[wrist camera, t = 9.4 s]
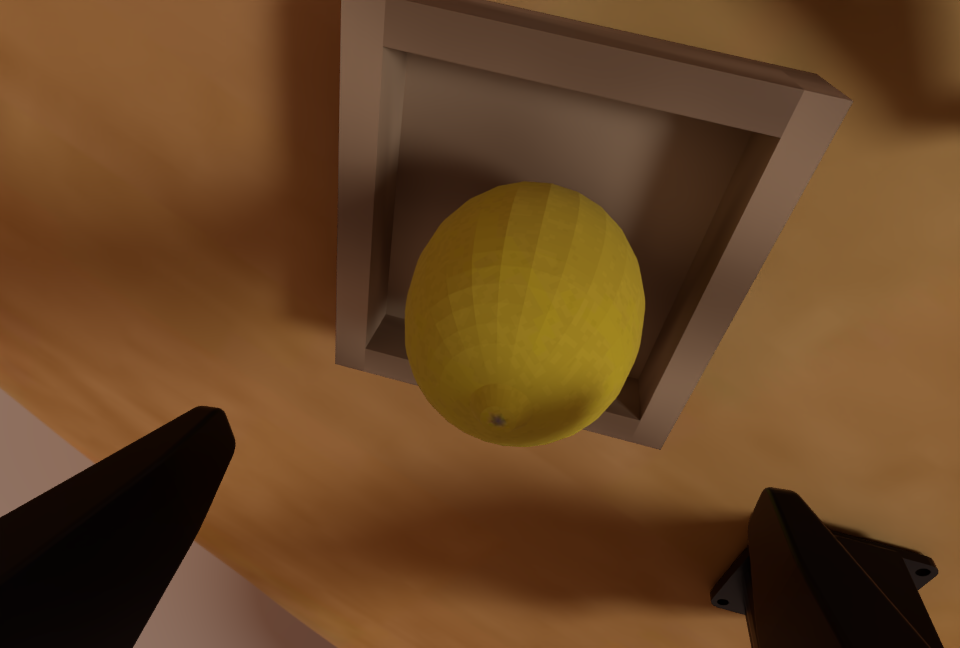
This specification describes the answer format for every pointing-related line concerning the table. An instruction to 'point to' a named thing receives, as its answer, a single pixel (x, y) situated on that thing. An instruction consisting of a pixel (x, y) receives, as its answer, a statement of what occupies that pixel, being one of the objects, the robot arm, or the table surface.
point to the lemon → (524, 314)
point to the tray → (567, 168)
